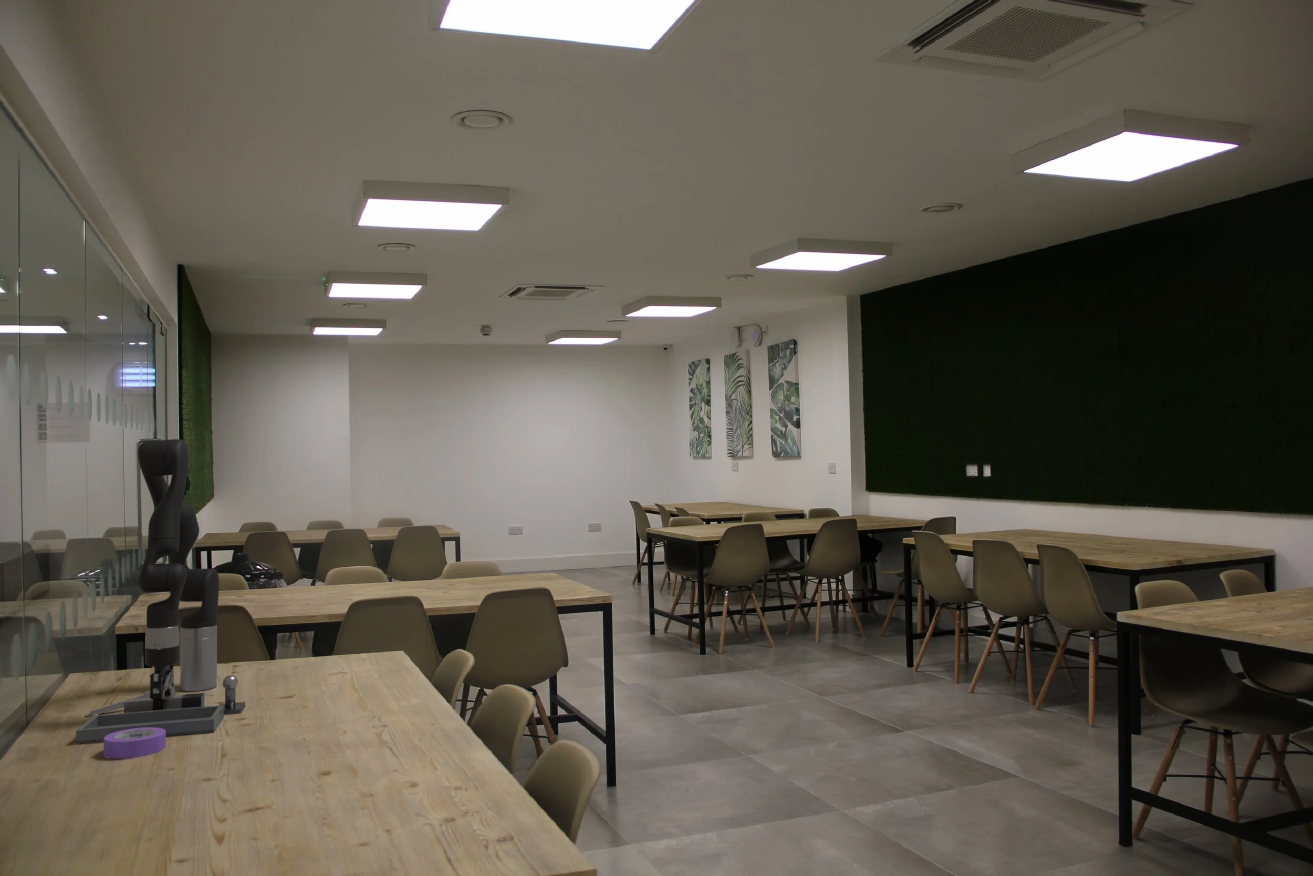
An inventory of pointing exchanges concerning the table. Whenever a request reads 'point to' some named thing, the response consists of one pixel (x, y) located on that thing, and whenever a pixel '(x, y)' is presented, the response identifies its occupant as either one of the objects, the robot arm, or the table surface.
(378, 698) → the table surface
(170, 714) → the tray
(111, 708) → the caliper
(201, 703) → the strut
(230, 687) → the ball stud
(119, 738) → the masking tape
